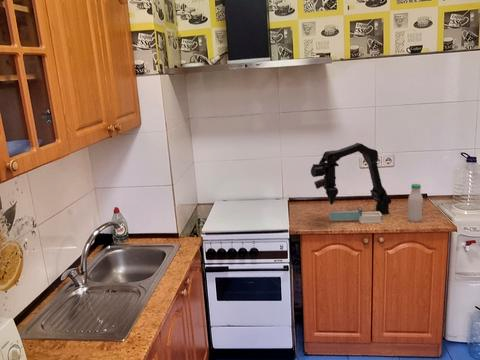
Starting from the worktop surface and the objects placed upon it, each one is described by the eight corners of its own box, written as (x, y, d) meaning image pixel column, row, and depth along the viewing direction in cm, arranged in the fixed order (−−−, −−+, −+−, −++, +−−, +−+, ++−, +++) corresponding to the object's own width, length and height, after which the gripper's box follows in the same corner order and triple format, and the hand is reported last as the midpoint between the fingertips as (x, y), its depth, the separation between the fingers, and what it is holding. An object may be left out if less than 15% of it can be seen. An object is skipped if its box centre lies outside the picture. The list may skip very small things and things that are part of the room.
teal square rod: (358, 218, 237) (358, 210, 236) (359, 219, 235) (359, 211, 234) (329, 219, 238) (329, 211, 237) (330, 220, 236) (330, 213, 235)
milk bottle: (421, 222, 227) (422, 187, 222) (406, 221, 231) (407, 185, 226) (423, 218, 233) (425, 183, 228) (408, 216, 237) (409, 182, 233)
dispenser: (379, 217, 239) (379, 205, 237) (382, 222, 231) (382, 210, 229) (357, 218, 240) (357, 206, 238) (360, 223, 232) (360, 211, 230)
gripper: (313, 171, 241) (314, 197, 244) (316, 179, 223) (317, 207, 226) (333, 170, 240) (333, 196, 243) (338, 178, 222) (338, 206, 225)
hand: (330, 201), depth 235 cm, fingers open, 9 cm apart
